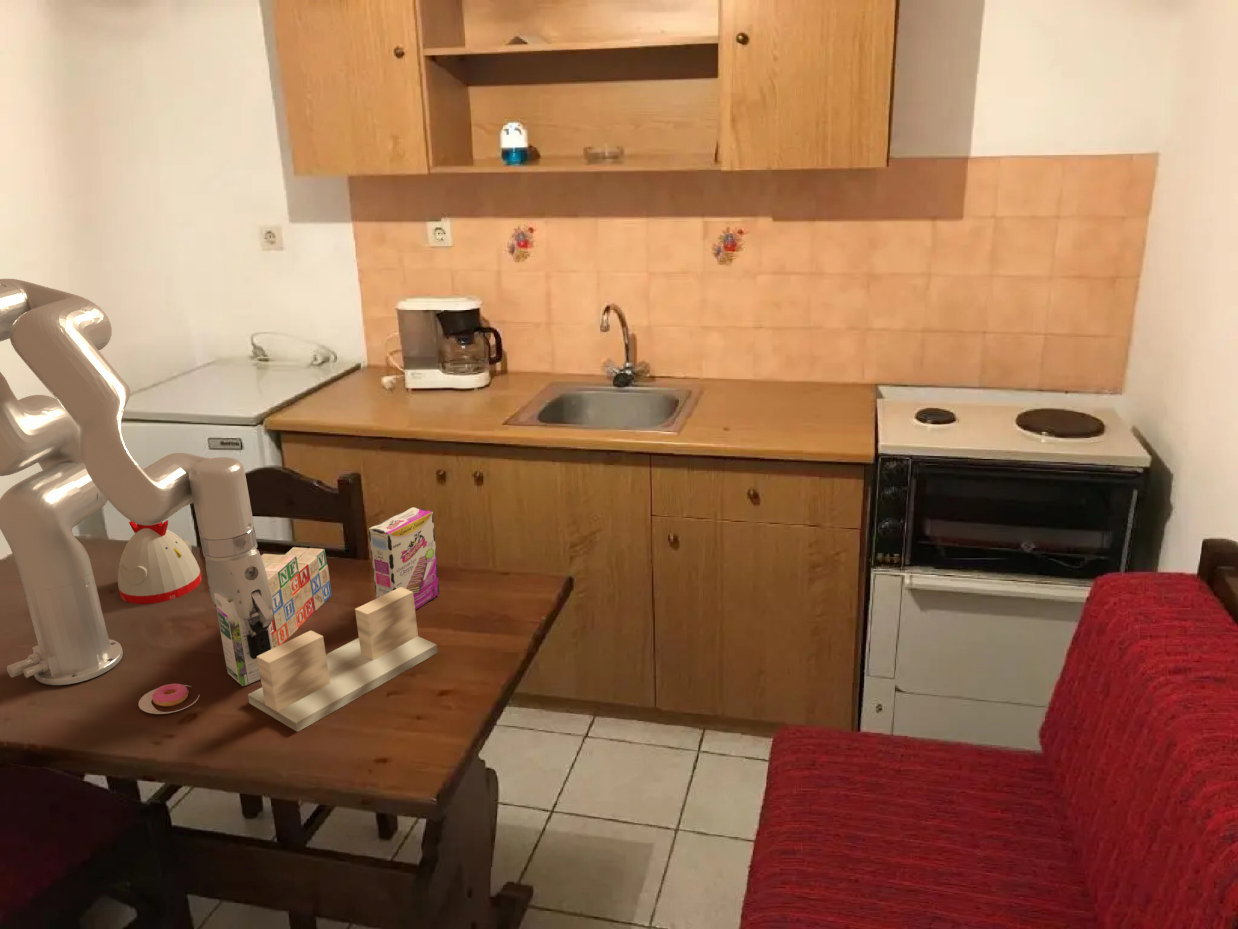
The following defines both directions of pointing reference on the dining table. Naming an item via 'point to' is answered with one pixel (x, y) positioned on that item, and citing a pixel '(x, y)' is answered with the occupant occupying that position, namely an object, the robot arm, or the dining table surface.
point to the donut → (164, 698)
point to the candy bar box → (405, 555)
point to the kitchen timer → (156, 566)
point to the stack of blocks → (295, 588)
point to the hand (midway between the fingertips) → (248, 647)
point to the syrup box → (237, 642)
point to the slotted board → (340, 663)
